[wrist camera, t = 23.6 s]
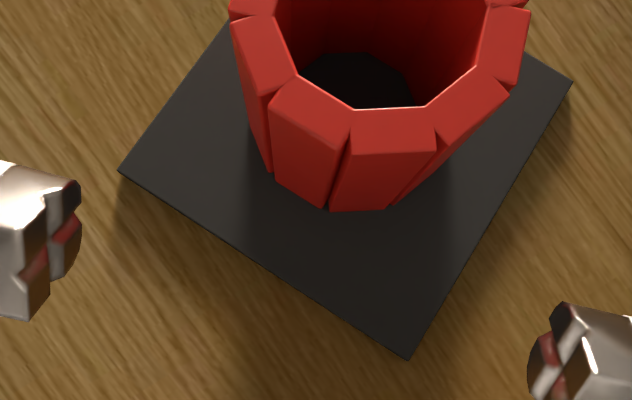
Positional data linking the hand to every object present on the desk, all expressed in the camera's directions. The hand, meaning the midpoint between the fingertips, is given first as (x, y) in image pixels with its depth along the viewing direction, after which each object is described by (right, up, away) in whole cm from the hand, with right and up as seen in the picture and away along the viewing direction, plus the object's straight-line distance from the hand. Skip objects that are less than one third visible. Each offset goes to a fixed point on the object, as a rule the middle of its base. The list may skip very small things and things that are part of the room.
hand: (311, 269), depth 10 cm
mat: (+1, +4, +10) cm, 11 cm away
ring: (+1, +4, +10) cm, 11 cm away
